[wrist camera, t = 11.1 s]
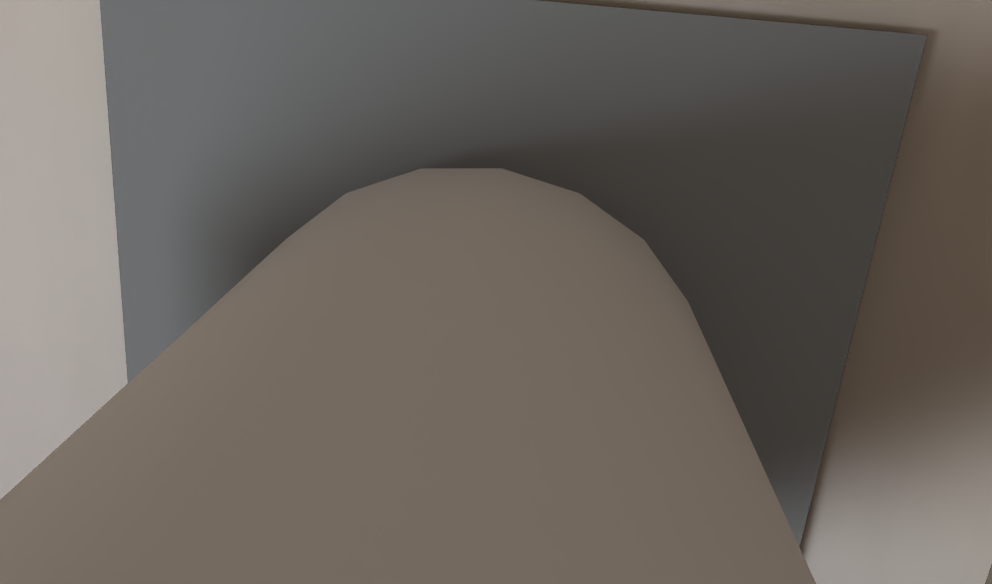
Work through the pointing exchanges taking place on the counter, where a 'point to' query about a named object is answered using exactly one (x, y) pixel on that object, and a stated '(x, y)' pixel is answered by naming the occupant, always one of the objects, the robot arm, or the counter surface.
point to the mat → (525, 158)
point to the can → (420, 417)
